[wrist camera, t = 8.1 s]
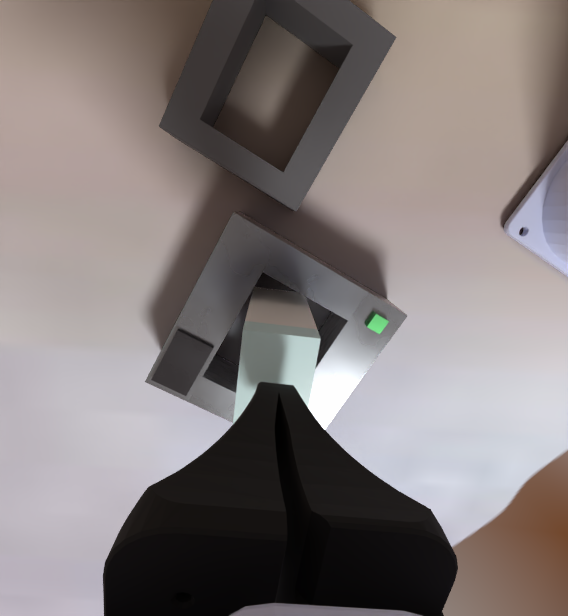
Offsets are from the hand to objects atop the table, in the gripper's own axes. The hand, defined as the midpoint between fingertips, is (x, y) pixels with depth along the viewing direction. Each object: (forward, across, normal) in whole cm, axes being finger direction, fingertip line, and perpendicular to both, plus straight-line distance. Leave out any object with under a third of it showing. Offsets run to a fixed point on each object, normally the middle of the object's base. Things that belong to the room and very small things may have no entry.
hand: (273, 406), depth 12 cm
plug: (+8, 0, 0) cm, 8 cm away
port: (+8, 0, 0) cm, 8 cm away
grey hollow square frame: (+8, +2, -12) cm, 15 cm away
